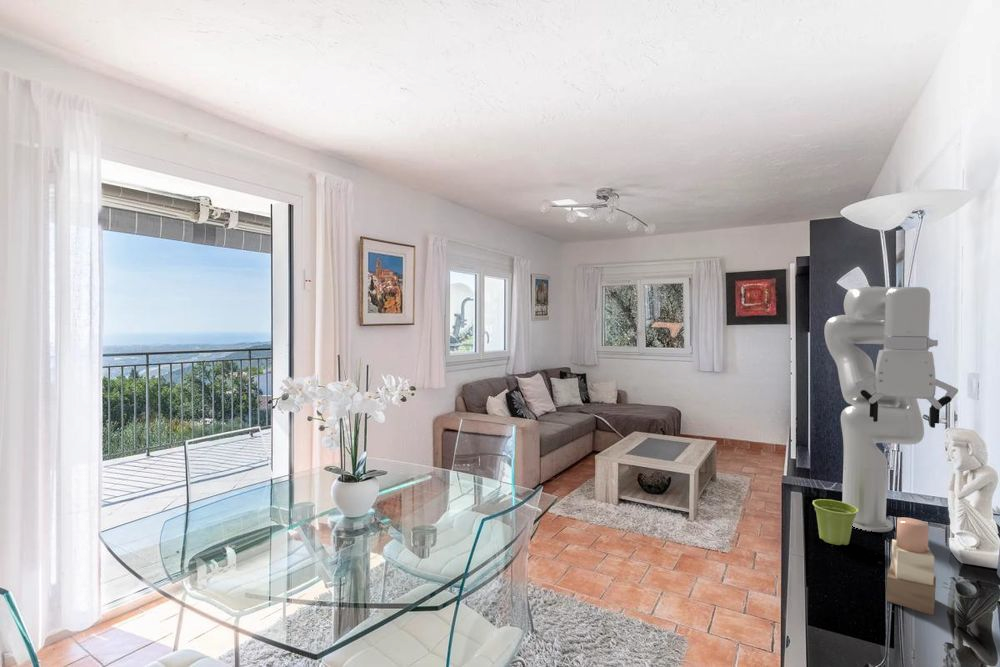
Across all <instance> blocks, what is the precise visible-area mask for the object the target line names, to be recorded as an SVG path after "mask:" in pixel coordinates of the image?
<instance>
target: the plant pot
mask: <svg viewBox="0 0 1000 667" xmlns="http://www.w3.org/2000/svg"><path fill="white" fill-rule="evenodd" d="M812 505H813V507H814V511H815V513H816V521H817V529H818V535H819V536H818V537H819V539H820V540H823V541H824V542H825V543H828V544H831V545H835V546H841V545H844V546H847V545H848V546H849V544H850V540H851V535H852V529H853V527H852V525H853V521H854V518H855V516H856V514H857V513H858V509H857V508H856V507H854V506H852V505H850V504H847V503H844V502H842V501H839V500H835V499H825V498H823V499H822V498H819V499H818V498H817V499H815V500H814V499H813V500H812Z"/></svg>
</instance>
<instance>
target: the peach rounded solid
mask: <svg viewBox="0 0 1000 667" xmlns="http://www.w3.org/2000/svg"><path fill="white" fill-rule="evenodd" d="M929 524H930V523H929ZM929 524H928V523H927V522H925V521H923V520H920V519H916V518H912V517H903V516H902V517H897V519H896V539H895V540H896V545H897V546H898V547H900V548H902V549H904V550H907V551H911V552H916V553H927V552H928V548H929V538H930V537H929V535H930V525H929Z"/></svg>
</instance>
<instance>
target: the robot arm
mask: <svg viewBox="0 0 1000 667" xmlns="http://www.w3.org/2000/svg"><path fill="white" fill-rule="evenodd" d="M843 310H844V313H845V314H840V315H836V316H832V317H830V318H829V319H828V320H826V323H825V324H824V332H823V333H824V339H825V344H826V347H827V349H828V351H829V353H830V356H831V357H832V359H833V360H834V363H835V364H836V367H837V373H838V374H837V375H838V379H839V384H840V389H841V393H842V397H843V400H844V401H845V402H846V403H847V404H849V405H850V406H846V407H845V408H844V409H842V411H841V413H840V427H841V433H842V441H843V442H842V443H843V460H842V461H843V465H842V466H843V468H842V469H843V470H842V500H841V502H844V503H847V504H850V505H852V506H854V507H856V508H857V509H858V513H857V514H856V516H855V518H854V521H853V525H852V526H853V527H855V528H854V529H856V528H858V529H857V530H860V529H862V530H861V531H865V530H866V531H865V532H871V531H872V533H874V532H875V533H888V532H891V531H892V530H894V523H893V522H892V521H891V520H890V519H888V518H887V516H886V515H887V496H888V495H887V494H888V493H887V492H888V491H887V490H888V488H887V487H888V459H887V457H886V455H885V454H884V453H883V451H882V450H881V449H880V448H879V447H878V446H877V444H897V445H911V446H912V445H916V444H919V443H921V441H922V440H923V439H924V437H925V436H924V435H925V426H924V420H923V416H922V413H921V410H920V409H921V408H920V407H919V402H918V399H920V400H926V401H928V402H929V404H930V407H929V410H928V412H929V414H928V415H929V416H928V425H929V427H930V428H936V424H940V413H941V412H940V410H941V409H942V408H943V407H945V406H947V405H948V404H949V403H950V402H952V400H953V399H954V397H956V395H957V394H958V392H959V389H958V388H956V387H955V386H952V385H951V384H948V383H946V382H944V381H942V380H939V379H937V378H936V367H935V359H934V358H935V357H934V353H933V351H929V350H930V349H931V348H933V347H938V344H939V343H938V342H939V340H938V339H931V338H930V316H931V314H930V312H931V292H930V290H929V289H928V288H927V287H922V286H901V287H900V286H876V285H875V286H863V287H862V286H861V287H858V288H850V289H848V290H847V292H846V293H845V297H844V300H843ZM855 344H858V345H859V344H862V345H867V344H868V345H869V344H870V345H883V349H879V350H878V354H877V357H876V365H875V366H874V363H873V361H872V359H871V357H870V356H869V354H867V353H866V352H865V351H864V350H862V349H861V348H859V347H858V346H856V345H855ZM936 387H938V388H940V389H942V390H945V391H946V393H945V394H944V396H942V397H941V398H938V399H937V398H936V397H935V395H936V389H937V388H936ZM853 527H852V528H853Z"/></svg>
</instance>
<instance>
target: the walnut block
mask: <svg viewBox="0 0 1000 667" xmlns="http://www.w3.org/2000/svg"><path fill="white" fill-rule="evenodd" d="M888 569H889V570H888V573H887V577H886V602H888V603H892V604H895V605H899V606H902V607H905V608H908V609H911V610H914V611H919V612H922V613H925V614H928V615H930V616H931V615H932V616H935V615H934V614H935V605H936V585H937V584H936V582H937V581H936V580H937V575H936V574H934V582H933V585H928V584H923V583H918V582H913V581H908V580H903V579H898V578H896V576H895V573H894V571H893V569H892V567H891V564H890V566H889V568H888Z"/></svg>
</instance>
